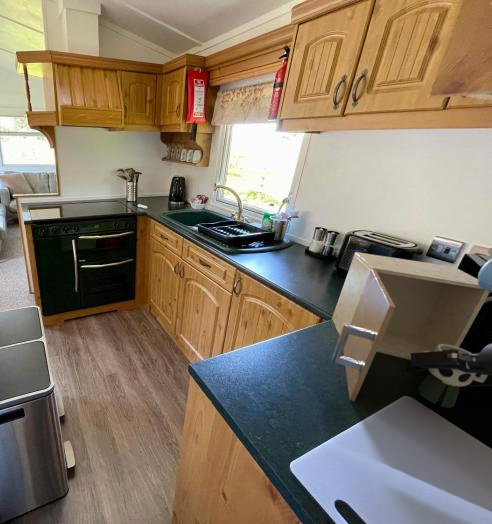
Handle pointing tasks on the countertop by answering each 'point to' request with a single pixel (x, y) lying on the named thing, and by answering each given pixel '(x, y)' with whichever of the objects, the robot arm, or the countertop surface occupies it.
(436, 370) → the character mug
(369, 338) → the cupboard door
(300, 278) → the countertop surface
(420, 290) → the cupboard
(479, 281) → the robot arm
